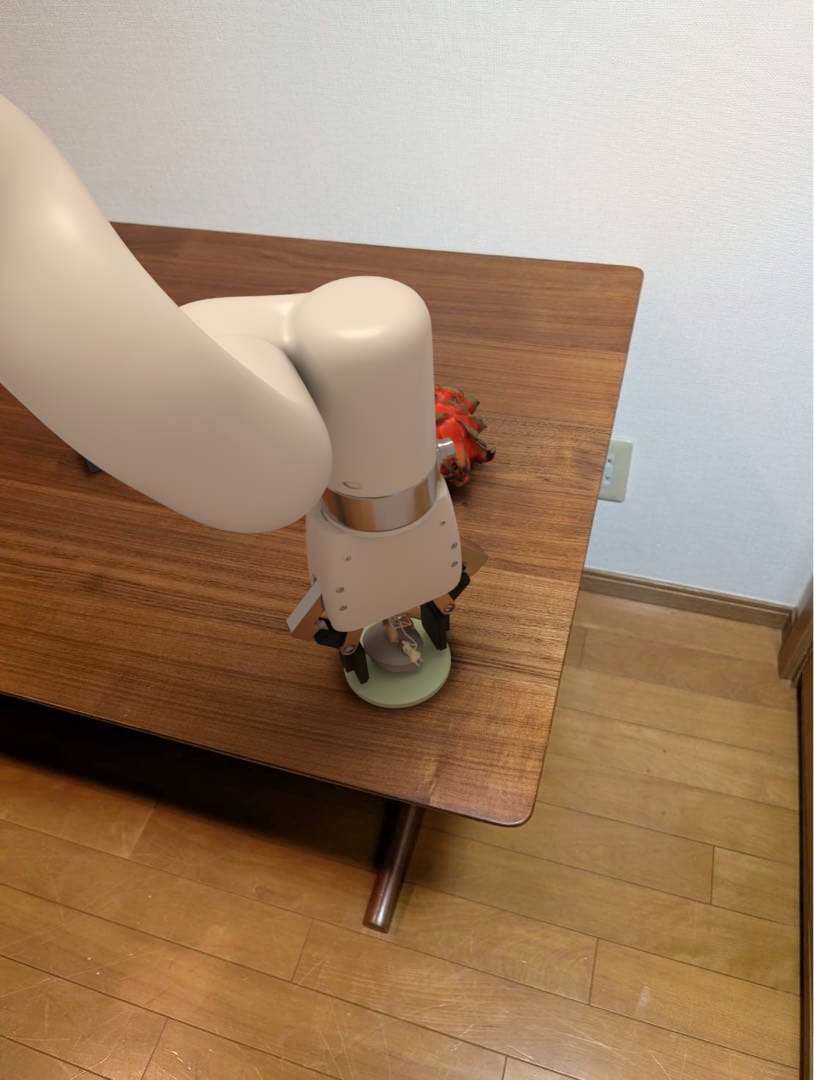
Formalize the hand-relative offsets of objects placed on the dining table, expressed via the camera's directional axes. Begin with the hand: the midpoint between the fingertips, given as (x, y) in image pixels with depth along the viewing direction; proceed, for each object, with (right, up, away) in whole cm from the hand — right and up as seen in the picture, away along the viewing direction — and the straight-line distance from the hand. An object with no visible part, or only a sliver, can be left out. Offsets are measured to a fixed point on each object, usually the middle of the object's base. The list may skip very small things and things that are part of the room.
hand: (396, 651), depth 64 cm
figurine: (0, -1, +1) cm, 1 cm away
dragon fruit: (+5, +16, +17) cm, 24 cm away
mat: (0, -1, +1) cm, 1 cm away
